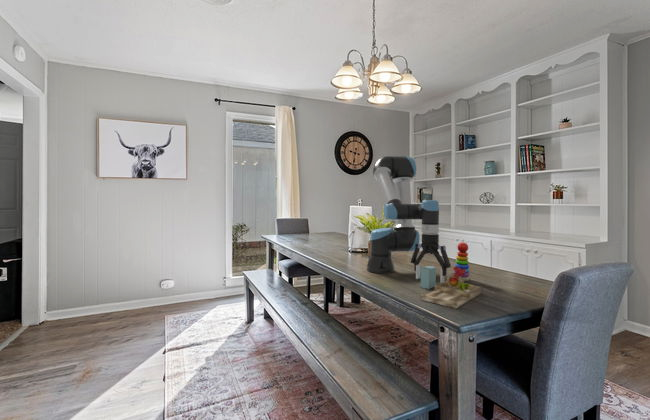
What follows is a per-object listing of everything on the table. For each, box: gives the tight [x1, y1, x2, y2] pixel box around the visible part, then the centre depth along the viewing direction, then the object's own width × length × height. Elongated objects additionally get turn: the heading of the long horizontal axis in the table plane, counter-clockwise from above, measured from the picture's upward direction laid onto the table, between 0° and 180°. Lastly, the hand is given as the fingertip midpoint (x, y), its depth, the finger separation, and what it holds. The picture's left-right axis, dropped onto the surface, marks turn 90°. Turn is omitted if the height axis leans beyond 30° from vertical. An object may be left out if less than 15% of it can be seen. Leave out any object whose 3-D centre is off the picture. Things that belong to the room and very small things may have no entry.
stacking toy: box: [453, 242, 471, 282], centre depth 173 cm, size 8×8×19 cm
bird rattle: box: [446, 266, 471, 291], centre depth 150 cm, size 6×11×9 cm
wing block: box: [420, 265, 437, 290], centre depth 160 cm, size 4×7×9 cm, turn 137°
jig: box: [419, 280, 482, 309], centre depth 145 cm, size 15×26×3 cm, turn 137°
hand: (429, 280), depth 159 cm, fingers open, 11 cm apart
